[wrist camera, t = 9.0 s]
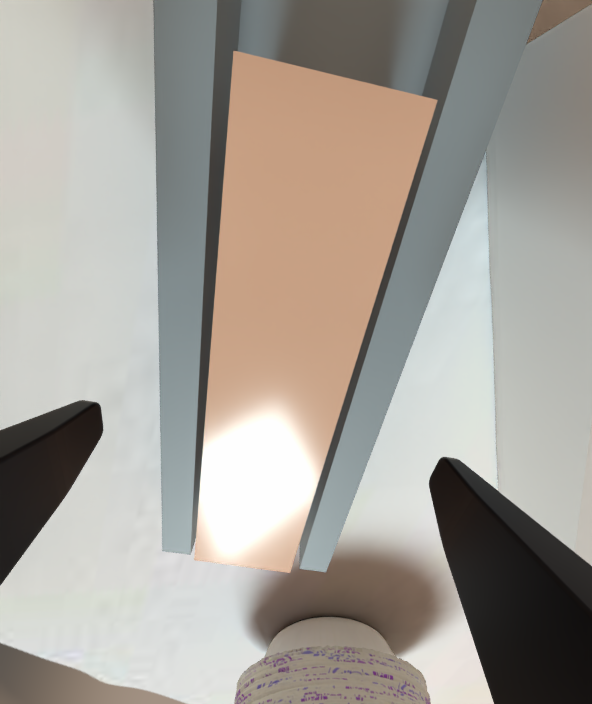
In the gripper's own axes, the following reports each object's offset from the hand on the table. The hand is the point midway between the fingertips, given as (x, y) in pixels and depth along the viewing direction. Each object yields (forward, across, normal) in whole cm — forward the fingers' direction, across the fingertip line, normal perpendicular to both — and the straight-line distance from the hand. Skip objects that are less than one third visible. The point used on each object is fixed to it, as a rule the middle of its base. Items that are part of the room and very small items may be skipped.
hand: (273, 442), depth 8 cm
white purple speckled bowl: (+8, -8, +29) cm, 31 cm away
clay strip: (+6, 0, 0) cm, 6 cm away
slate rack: (+7, 0, 0) cm, 7 cm away
